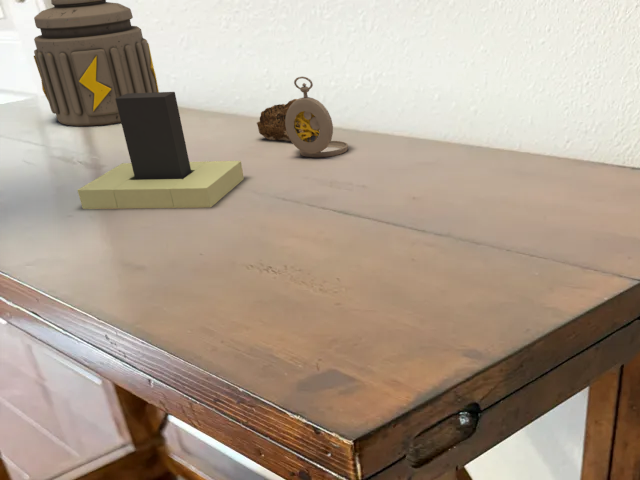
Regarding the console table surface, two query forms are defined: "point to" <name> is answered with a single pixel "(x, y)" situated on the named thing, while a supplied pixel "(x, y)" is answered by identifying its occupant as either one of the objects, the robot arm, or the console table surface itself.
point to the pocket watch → (311, 126)
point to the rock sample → (275, 122)
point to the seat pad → (162, 187)
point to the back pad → (154, 135)
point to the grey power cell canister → (91, 60)
